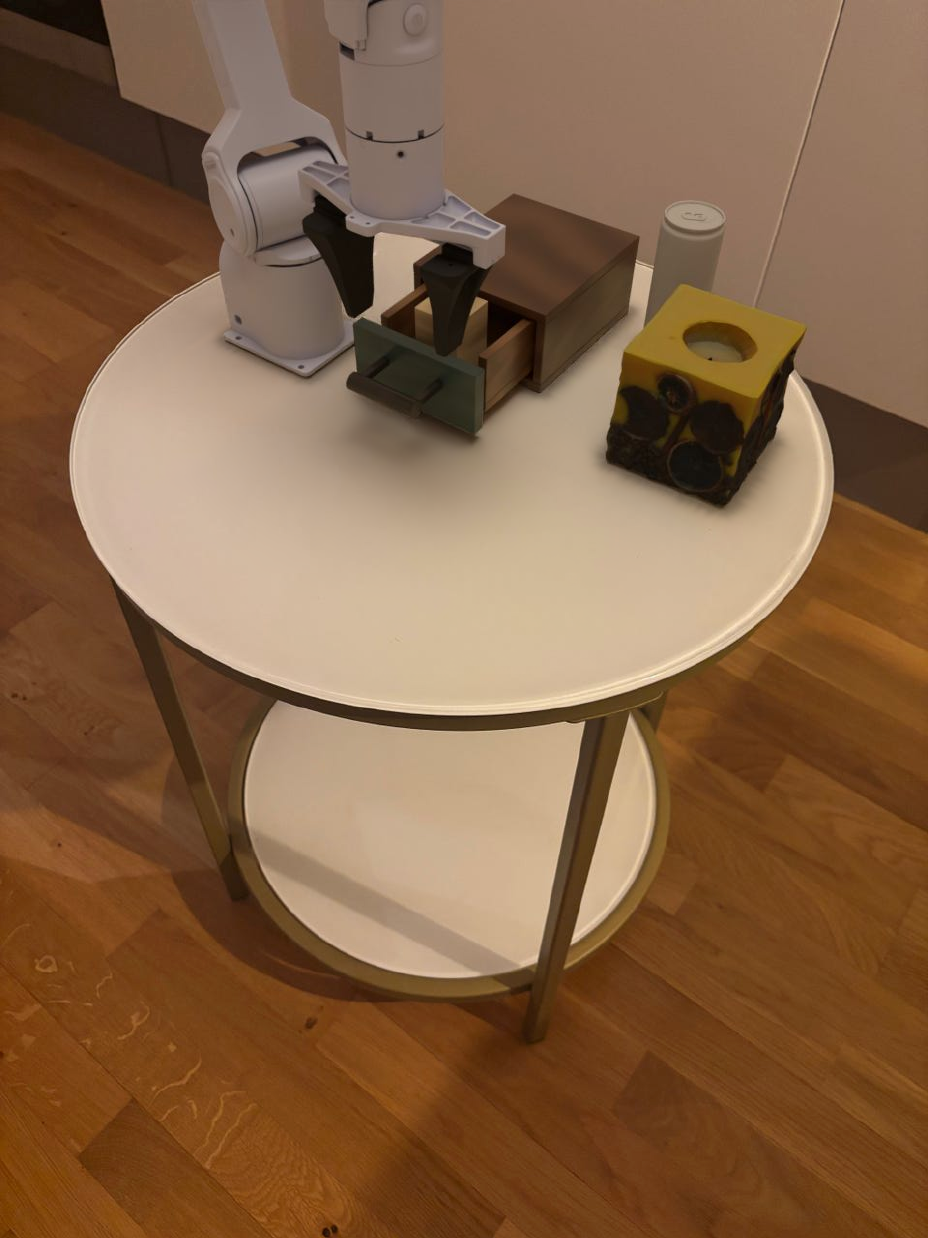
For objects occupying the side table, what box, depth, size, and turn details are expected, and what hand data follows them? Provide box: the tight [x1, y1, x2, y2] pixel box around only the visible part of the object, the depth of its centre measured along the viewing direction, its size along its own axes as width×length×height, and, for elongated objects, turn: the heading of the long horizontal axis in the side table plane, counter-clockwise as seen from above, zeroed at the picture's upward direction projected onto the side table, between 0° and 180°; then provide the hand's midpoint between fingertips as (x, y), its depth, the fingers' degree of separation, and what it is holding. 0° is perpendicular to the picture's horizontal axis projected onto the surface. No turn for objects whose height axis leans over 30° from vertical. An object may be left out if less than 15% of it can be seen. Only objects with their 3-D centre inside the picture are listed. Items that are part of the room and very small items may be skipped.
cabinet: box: [412, 193, 641, 393], centre depth 82 cm, size 15×13×7 cm
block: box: [415, 297, 488, 366], centre depth 75 cm, size 4×4×6 cm
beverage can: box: [642, 199, 727, 329], centre depth 78 cm, size 5×5×12 cm
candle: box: [605, 284, 808, 508], centre depth 70 cm, size 10×10×10 cm
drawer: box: [345, 283, 537, 436], centre depth 76 cm, size 18×11×5 cm, turn 145°
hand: (403, 329), depth 66 cm, fingers open, 7 cm apart
